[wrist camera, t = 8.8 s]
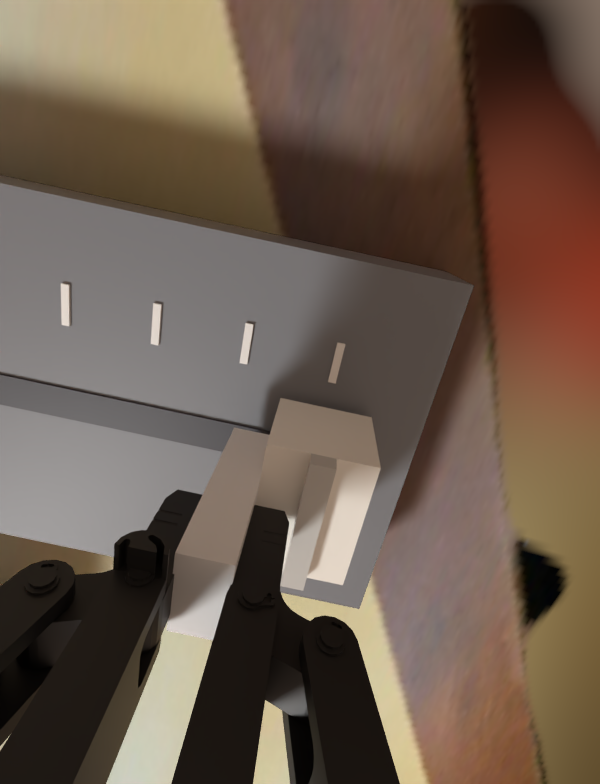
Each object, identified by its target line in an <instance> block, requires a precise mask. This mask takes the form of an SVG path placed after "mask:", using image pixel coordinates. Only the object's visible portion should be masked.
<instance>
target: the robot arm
mask: <svg viewBox="0 0 600 784" xmlns="http://www.w3.org/2000/svg"><path fill="white" fill-rule="evenodd" d="M268 438H269V435H267V434H263V433H258V432H253V431H249V430H244V429H239V428H235V427H234V429H233V431H232V434H231V436H230V438H229V440H228V442H227V444H226V446H225V448H224V450H223V453H222V455H221V457H220V459H219V461H218V463H217V465H216V467H215V469H214V472H213V474H212V476H211V478H210V480H209V482H208V484H207V486H206V489H205V491H204V493H203V495H201V494H197V493H192V492H187V491H183V490H176V491H175V492H173V493H172V494H171V495H169V496H168V497H166V498H165V500H164V501H163V503H162V505H161V506H160V508H159V511H157V513H156V515H155V516H154V518H153V521H151V523H150V525H149V526H148V528H147V530H139V531H134V532H130V533H128V534H126V535H124V536H122V537H121V538H120V539H119V540H118V541H117V542H116V543H115V544H114V567H113V570H110V571H107V572H102V573H96V574H80V575H75V573H74V570H73V568H72V567H71V566H70V565H68V564H67V563H66V562H62V561H58V560H46V561H41V562H38V563H34V564H31V565H29V566H28V567H26V568H24V569H23V570H21V571H20V572H18V573H17V574H16V575H14V576H13V577H12V578H11V579H9V580H8V581H7V582H5V583H4V584H3V585H2V586H0V746H1V744H2V743H3V742H4V741H5V740H6V739H7V738H8V737H9V735H10V734H11V735H10V737H9V738H8V740H7V741H6V743H5V745H4V746H3V748H2V749H1V751H0V784H106V782H107V780H108V777H109V775H110V772H111V770H112V767H113V765H114V762H115V760H116V757H117V755H118V752H119V750H120V747H121V745H122V742H123V740H124V737H125V735H126V732H127V730H128V727H129V725H130V722H131V720H132V717H133V715H134V712H135V710H136V707H137V705H138V702H139V700H140V697H141V695H142V692H143V690H144V687H145V685H146V682H147V680H148V677H149V675H150V672H151V670H152V667H153V665H154V662H155V660H156V657H157V655H158V652H159V648H160V642H161V635H162V633H163V630H164V628H165V625H166V623H167V631H170V632H175V633H180V634H185V635H189V636H194V637H199V638H204V639H209V640H213V642H212V645H211V649H210V652H209V656H208V659H207V663H206V666H205V669H204V673H203V676H202V680H201V683H200V687H199V690H198V694H197V697H196V701H195V704H194V708H193V711H192V714H191V718H190V721H189V725H188V728H187V732H186V735H185V739H184V742H183V746H182V749H181V752H180V756H179V759H178V763H177V766H176V770H175V773H174V777H173V780H172V784H253V778H254V772H255V765H256V758H257V751H258V744H259V737H260V731H261V724H262V717H263V710H264V703H265V700H267V701H268V702H270V703H271V704H273V705H275V706H276V707H278V708H279V709H281V710H282V713H283V722H284V731H285V741H286V750H287V759H288V768H289V777H290V784H400V783H399V779H398V776H397V773H396V769H395V766H394V762H393V759H392V756H391V752H390V749H389V746H388V742H387V739H386V735H385V732H384V729H383V725H382V722H381V718H380V715H379V712H378V708H377V705H376V702H375V698H374V695H373V691H372V688H371V685H370V681H369V678H368V674H367V671H366V668H365V664H364V661H363V658H362V654H361V651H360V647H359V644H358V641H357V639H356V637H355V635H354V633H353V631H352V630H351V629H350V628H349V626H348V625H347V624H346V623H344V622H343V621H341V620H339V619H337V618H335V617H330V616H320V617H315V618H314V619H313V620H311V621H309V620H307V619H305V618H303V617H301V616H299V615H298V614H296V613H295V612H293V611H292V610H291V609H290V608H289V607H288V606H287V605H286V603H285V602H284V600H283V598H282V595H281V592H280V583H281V576H282V570H283V563H284V556H285V549H286V542H287V536H288V529H289V521H288V518H287V516H286V513H285V511H282V510H277V509H272V508H268V507H263V506H258V505H256V500H257V495H258V490H259V484H260V479H261V472H262V467H263V461H264V456H265V451H266V446H267V442H268ZM167 620H168V622H167Z"/></svg>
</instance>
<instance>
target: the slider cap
mask: <svg viewBox="0 0 600 784" xmlns="http://www.w3.org/2000/svg"><path fill="white" fill-rule="evenodd" d="M380 469H381V466H380V461H379V455H378V450H377V444H376V439H375V433H374V428H373V422H372V417H368V416H363V415H358V414H354V413H349V412H344V411H340V410H335V409H330V408H326V407H321V406H316V405H312V404H307V403H302V402H298V401H293V400H288V399H284V398H280V402H279V405H278V408H277V412H276V415H275V418H274V422H273V425H272V428H271V432H270V435H269V438H268V442H267V446H266V451H265V456H264V461H263V467H262V472H261V479H260V484H259V490H258V495H257V500H256V505H258V506H263V507H268V508H272V509H277V510H282V511H285V513H286V516H287V518H288V521H289V529H288V536H287V542H286V549H285V556H284V563H283V570H282V577H281V584H280V586H282V587H287V588H292V589H297V590H301V591H303V590H304V586H305V582H306V579H307V578H311V579H315V580H320V581H325V582H330V583H334V584H339V585H343V583H344V580H345V577H346V574H347V571H348V568H349V565H350V562H351V559H352V556H353V553H354V550H355V546H356V543H357V540H358V537H359V534H360V531H361V528H362V525H363V522H364V519H365V516H366V512H367V509H368V506H369V503H370V500H371V497H372V494H373V491H374V488H375V485H376V482H377V479H378V475H379V472H380Z"/></svg>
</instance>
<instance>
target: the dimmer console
mask: <svg viewBox="0 0 600 784" xmlns="http://www.w3.org/2000/svg"><path fill="white" fill-rule="evenodd" d="M473 287H474V285H472V284H470V283H468V282H466V281H464V280H462V279H460V278H458V277H456V276H454V275H452V274H450V273H448V272H446V271H441V270H437V269H432V268H428V267H423V266H418V265H414V264H409V263H404V262H400V261H395V260H391V259H386V258H381V257H377V256H372V255H368V254H363V253H358V252H354V251H349V250H344V249H340V248H335V247H331V246H326V245H321V244H317V243H312V242H308V241H303V240H298V239H294V238H289V237H284V236H280V235H275V234H271V233H266V232H261V231H257V230H252V229H247V228H243V227H238V226H234V225H229V224H224V223H220V222H215V221H211V220H206V219H201V218H197V217H192V216H187V215H183V214H178V213H174V212H169V211H164V210H160V209H155V208H150V207H146V206H141V205H137V204H132V203H127V202H123V201H118V200H114V199H109V198H104V197H100V196H95V195H90V194H86V193H81V192H77V191H72V190H67V189H63V188H58V187H54V186H49V185H44V184H40V183H35V182H30V181H26V180H21V179H17V178H12V177H7V176H3V175H0V533H2V534H7V535H11V536H16V537H21V538H26V539H30V540H35V541H40V542H45V543H49V544H54V545H59V546H64V547H68V548H73V549H78V550H83V551H87V552H92V553H97V554H101V555H106V556H111V557H114V544H115V543H116V542H117V541H118V540H119V539H120V538H121V537H122V536H124V535H126V534H128V533H130V532H134V531H139V530H147V528H148V526H149V525H150V523H151V521H153V518H154V516H155V515H156V513H157V511H159V508H160V506H161V505H162V503H163V501H164V500H165V498H166V497H168V496H169V495H171V494H172V493H173V492H175V491H176V490H183V491H187V492H192V493H197V494H201V495H203V493H204V491H205V489H206V486H207V484H208V482H209V480H210V478H211V476H212V474H213V472H214V469H215V467H216V465H217V463H218V461H219V459H220V457H221V455H222V453H223V450H224V448H225V446H226V444H227V442H228V440H229V438H230V436H231V434H232V431H233V429H234V427H235V428H239V429H244V430H249V431H253V432H258V433H263V434H267V435H270V432H271V428H272V425H273V422H274V418H275V415H276V412H277V408H278V405H279V402H280V398H284V399H288V400H293V401H298V402H302V403H307V404H312V405H316V406H321V407H326V408H330V409H335V410H340V411H344V412H349V413H354V414H358V415H363V416H368V417H372V422H373V428H374V433H375V439H376V444H377V450H378V455H379V461H380V466H381V469H380V472H379V475H378V479H377V482H376V485H375V488H374V491H373V494H372V497H371V500H370V503H369V506H368V509H367V512H366V516H365V519H364V522H363V525H362V528H361V531H360V534H359V537H358V540H357V543H356V546H355V550H354V553H353V556H352V559H351V562H350V565H349V568H348V571H347V574H346V577H345V580H344V583H343V585H339V584H334V583H330V582H325V581H320V580H315V579H311V578H307V579H306V582H305V586H304V590H303V591H301V590H297V589H292V588H287V587H282V586H280V592H282V593H286V594H291V595H296V596H301V597H305V598H310V599H315V600H319V601H324V602H329V603H334V604H338V605H343V606H348V607H353V608H357V609H359V608H360V605H361V602H362V600H363V597H364V594H365V591H366V588H367V586H368V583H369V580H370V577H371V574H372V571H373V569H374V566H375V563H376V560H377V557H378V555H379V552H380V549H381V546H382V543H383V540H384V538H385V535H386V532H387V529H388V526H389V524H390V521H391V518H392V515H393V512H394V510H395V507H396V504H397V501H398V498H399V495H400V493H401V490H402V487H403V484H404V481H405V479H406V476H407V473H408V470H409V467H410V464H411V462H412V459H413V456H414V453H415V450H416V448H417V445H418V442H419V439H420V436H421V433H422V431H423V428H424V425H425V422H426V419H427V417H428V414H429V411H430V408H431V405H432V402H433V400H434V397H435V394H436V391H437V388H438V386H439V383H440V380H441V377H442V374H443V371H444V369H445V366H446V363H447V360H448V357H449V355H450V352H451V349H452V346H453V343H454V341H455V338H456V335H457V332H458V329H459V326H460V324H461V321H462V318H463V315H464V312H465V310H466V307H467V304H468V301H469V298H470V295H471V293H472V290H473ZM281 577H282V576H281ZM280 584H281V583H280Z"/></svg>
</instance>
